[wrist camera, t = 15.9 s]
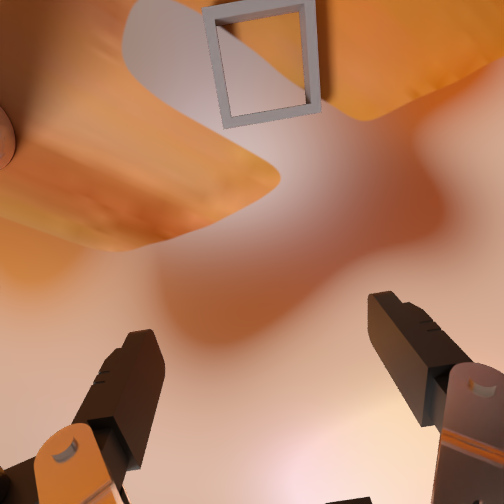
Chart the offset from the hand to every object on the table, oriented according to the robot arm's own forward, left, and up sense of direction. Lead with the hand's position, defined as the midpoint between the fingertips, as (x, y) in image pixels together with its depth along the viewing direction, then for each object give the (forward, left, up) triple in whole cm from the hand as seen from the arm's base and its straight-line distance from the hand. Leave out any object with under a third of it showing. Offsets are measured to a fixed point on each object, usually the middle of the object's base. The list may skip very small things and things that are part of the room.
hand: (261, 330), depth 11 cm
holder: (0, +12, -28) cm, 31 cm away
